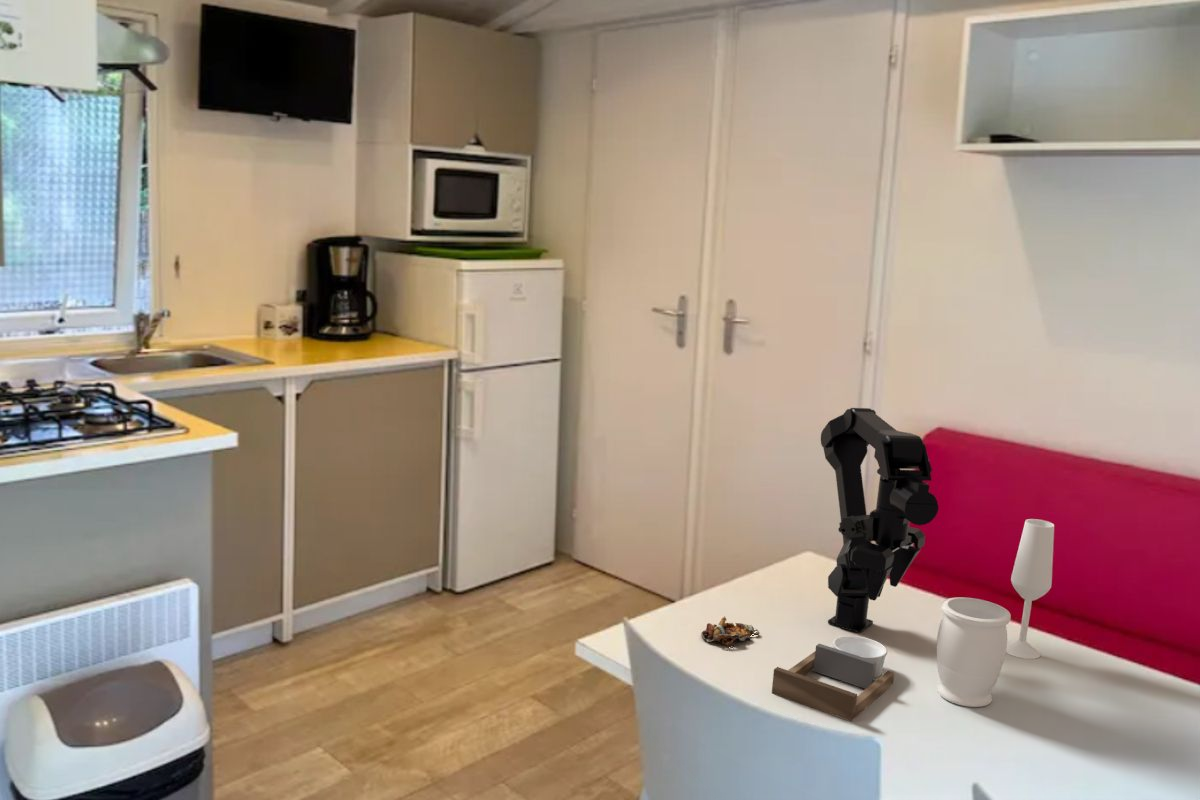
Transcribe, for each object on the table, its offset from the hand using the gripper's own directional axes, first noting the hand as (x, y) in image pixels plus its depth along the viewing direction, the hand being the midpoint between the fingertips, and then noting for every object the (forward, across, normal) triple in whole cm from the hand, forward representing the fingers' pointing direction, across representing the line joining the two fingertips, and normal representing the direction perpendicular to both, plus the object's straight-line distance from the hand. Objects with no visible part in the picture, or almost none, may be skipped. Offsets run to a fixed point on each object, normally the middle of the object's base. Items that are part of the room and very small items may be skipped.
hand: (883, 592), depth 181 cm
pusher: (+11, +15, +1) cm, 18 cm away
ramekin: (+11, +9, +1) cm, 15 cm away
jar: (+11, +6, +18) cm, 22 cm away
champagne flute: (+11, -20, +19) cm, 30 cm away
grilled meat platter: (+12, +13, -22) cm, 28 cm away
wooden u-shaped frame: (+11, +18, +1) cm, 21 cm away
